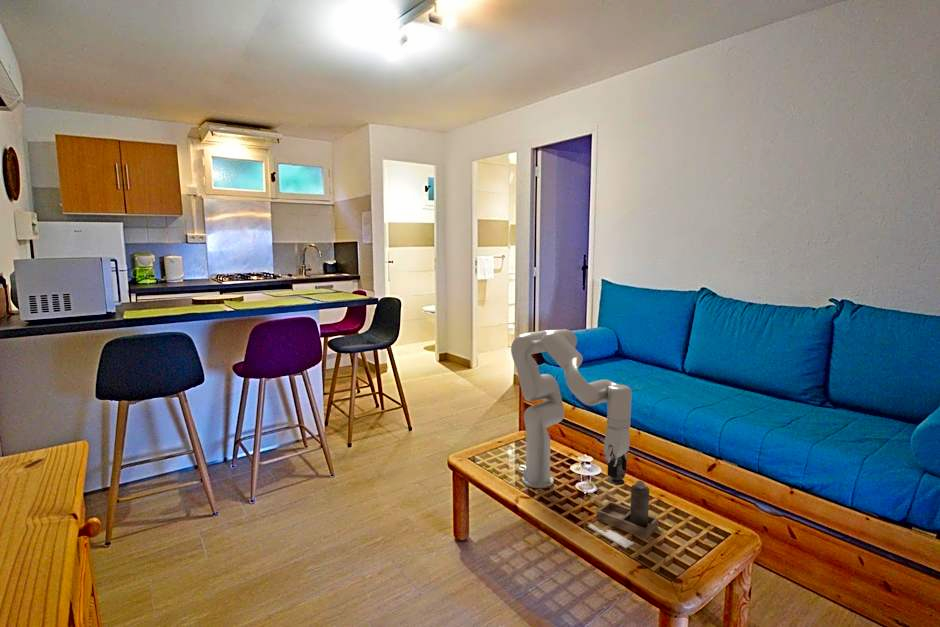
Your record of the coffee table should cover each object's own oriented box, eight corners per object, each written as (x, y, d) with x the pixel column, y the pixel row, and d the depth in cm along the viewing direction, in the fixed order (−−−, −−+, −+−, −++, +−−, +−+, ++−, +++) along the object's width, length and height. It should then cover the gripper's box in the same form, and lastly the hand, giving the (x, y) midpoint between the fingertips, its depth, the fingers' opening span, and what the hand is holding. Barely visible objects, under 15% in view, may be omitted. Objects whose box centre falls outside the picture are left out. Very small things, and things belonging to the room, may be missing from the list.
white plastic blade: (597, 523, 166) (598, 520, 166) (635, 544, 154) (635, 541, 154) (587, 527, 163) (587, 524, 163) (625, 549, 151) (625, 546, 151)
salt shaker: (618, 487, 162) (619, 452, 161) (604, 480, 167) (605, 446, 165) (629, 482, 165) (630, 448, 164) (615, 476, 170) (616, 442, 169)
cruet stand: (596, 519, 168) (598, 473, 165) (609, 509, 174) (610, 464, 172) (646, 539, 156) (648, 490, 154) (657, 527, 162) (659, 480, 160)
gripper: (619, 413, 172) (618, 462, 174) (595, 426, 160) (594, 478, 162) (640, 418, 167) (638, 468, 169) (617, 431, 155) (615, 485, 157)
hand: (616, 472), depth 166 cm, fingers closed on salt shaker, 5 cm apart
